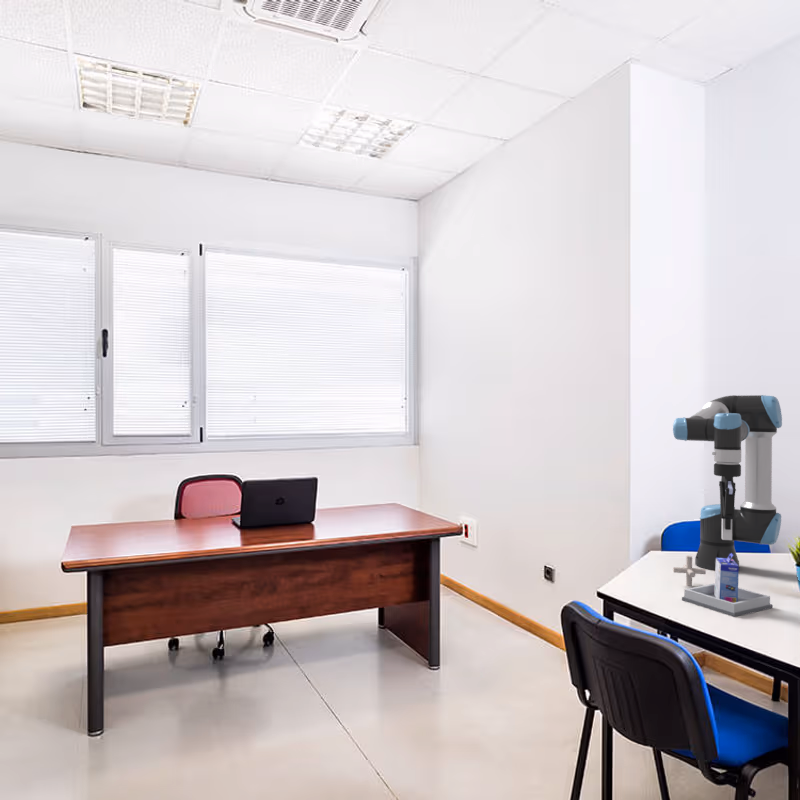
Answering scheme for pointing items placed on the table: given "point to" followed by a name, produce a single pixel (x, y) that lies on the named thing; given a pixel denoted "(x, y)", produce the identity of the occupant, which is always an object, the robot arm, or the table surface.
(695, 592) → the cartridge dock
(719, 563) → the ink cartridge box
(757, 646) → the table surface
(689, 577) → the pipe connector
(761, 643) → the table surface
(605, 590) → the table surface
